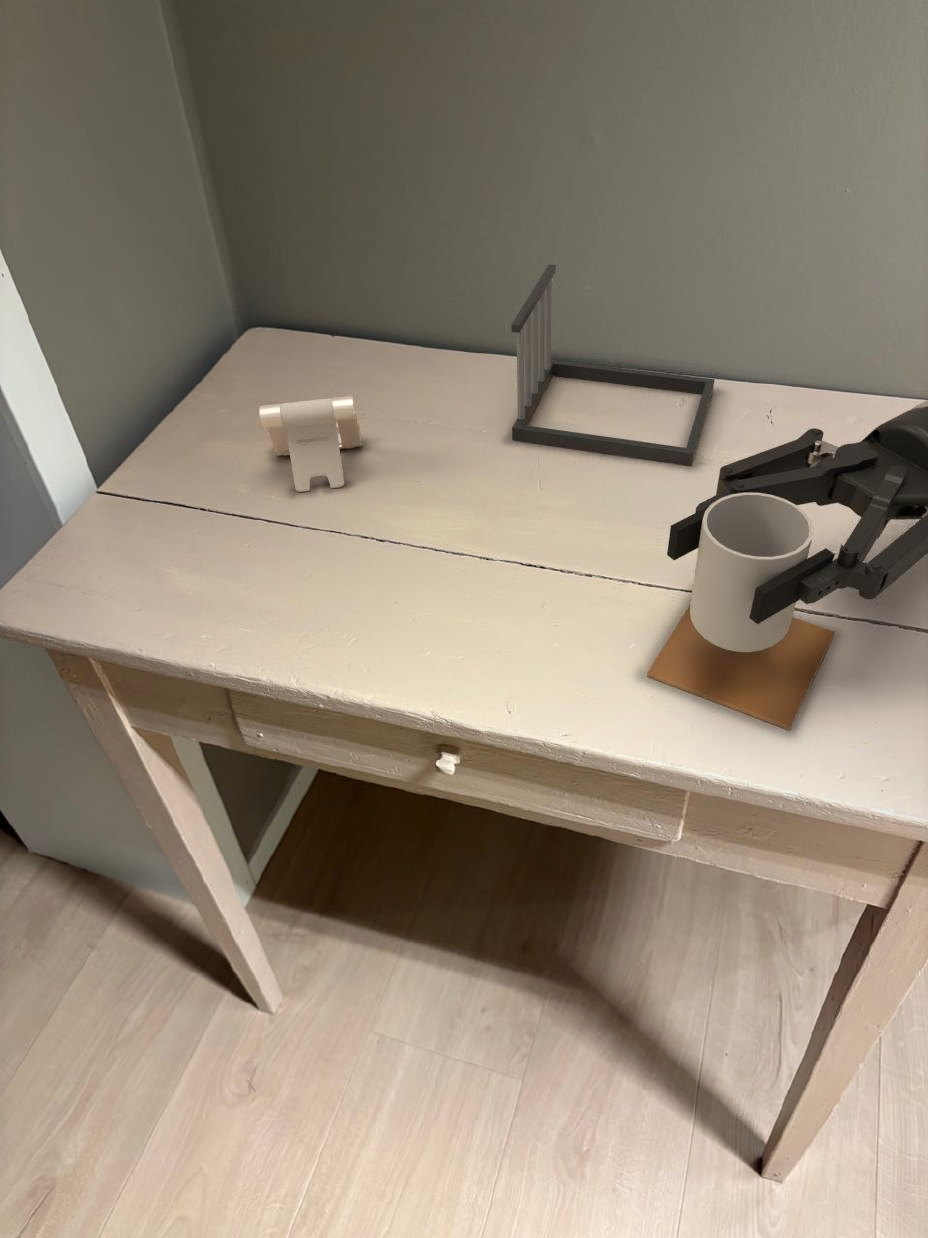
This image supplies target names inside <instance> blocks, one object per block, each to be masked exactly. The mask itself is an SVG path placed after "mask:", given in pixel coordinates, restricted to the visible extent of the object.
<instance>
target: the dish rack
mask: <svg viewBox="0 0 928 1238" xmlns="http://www.w3.org/2000/svg"><path fill="white" fill-rule="evenodd" d="M555 273H557V265H556V264H552V263H548V265H546V267H545V269H544V270H543V272H542V274H541V276H540V277H539V279H538V280H537V282H536V283H535V286H534V287H533V289H532V290H531V292H530V294H529V295H528V296H527V299H526V300H525V301H524V302H523V305H522V306H521V308H520V310H519V311H518V313H517V315H516V316H515V318H514V320H513V321H512V323H511V325H510V326H511V327H510V328H511V333H516V382H517V383H516V384H517V385H516V386H517V389H516V390H517V392H516V393H517V395H516V396H517V418H516V419H515V422H514V423H513V425H512V427H511V436H512V437H511V440H512V441H515V442H524V443H530V444H537V445H543V446H551V447H557V448H558V447H559V448H565V449H571V450H579V451H586V452H592V453H599V454H607V455H613V456H618V457H619V456H620V457H625V458H626V457H627V458H633V459H642V460H646V461H647V460H648V461H655V462H660V463H668V464H675V465H682V466H689V467H692V466H693V462H694V459H695V455H696V453H697V450H698V449H697V448H698V445H699V441H700V439H701V434H702V431H703V428H704V424H705V421H706V417H707V414H708V411H709V408H710V407H709V406H710V403H711V399H712V396H713V393H714V388H715V380H716V379H715V378H709V377H700V376H692V375H683V374H675V373H667V372H658V371H650V370H641V369H635V368H632V369H631V368H625V367H617V366H608V365H600V364H592V363H584V362H583V363H582V362H575V361H569V360H559V359H552V357H551V356H552V355H551V353H552V350H551V349H552V347H551V346H552V279H553V277H554V276H555ZM553 377H563V378H571V379H578V380H587V381H595V382H603V383H610V384H611V383H612V384H618V385H624V386H625V385H626V386H634V387H642V388H650V389H656V390H657V389H658V390H666V391H673V392H674V391H675V392H681V393H682V392H683V393H688V394H689V393H691V394H699V395H701V396H700V397H701V398H700V400H699V404H698V407H697V411H696V414H695V417H694V422H693V424H692V427H691V430H690V435H689V437H688V441H687V444H686V447H684V446H676V445H669V444H662V443H656V442H648V441H640V440H634V439H628V438H620V437H612V436H605V435H597V434H591V433H583V432H576V431H569V430H563V429H554V428H549V427H542V426H534V425H529V424H530V421H531V419H532V417H533V416H534V413H535V412H536V410H537V408H538V406H539V404H540V402H541V400H542V398H543V397H544V394H545V392H546V390H547V388H548V387H549V385H550V383H551V381H552V379H553Z"/></svg>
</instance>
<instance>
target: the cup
mask: <svg viewBox="0 0 928 1238" xmlns="http://www.w3.org/2000/svg"><path fill="white" fill-rule="evenodd" d="M814 531H815V529H814V525H813V522H812V520H811V518H810V517H809V515H808V514H807V513H806V512H805V511H804V510H803V509H802V508H801V507H799V505H795V504H793V503H791V502H789V501H787V500H786V499H783V498H780V497H777V496H774V495H769V494H763V493H738V494H732V495H729V496H726V497H723V498H720V499H719V500H717V501H715V502H714V503H712V504H711V505H710V506H709V507H708V509H707V510H706V511H705V514H704V517H703V521H702V528H701V534H700V541H699V548H697V555H696V563H695V570H694V574H693V575H694V576H693V583H692V590H691V596H690V597H691V598H690V603H689V605H690V615H691V620H692V622H693V624H694V626H695V628H696V630H697V631H698V632H699V633H700V634H701V635H702V636H703V637H704V638H705V639H706V640H708V641H709V642H711V643H712V644H714V645H716V646H718V647H721V648H723V649H726V650H731V651H736V652H755V651H761V650H764V649H766V648H769V647H771V646H773V645H775V644H776V643H778V642H779V641H780V640H781V639H783V638H784V636H785V635H786V633H787V632H788V630H789V627H790V624H791V621H792V617H793V618H794V612H795V608H796V605H797V602H795V603H793V604H791V605H790V606H788V607H786V608H785V609H783V610H781V611H780V612H778V613H776V614H774V615H773V616H771V617H769V618H768V619H766V620H764V621H763V622H761V623H759V624H756V623H755V622H754V621H753V620H751V619H750V618H749V617H750V612H751V608H752V603H753V599H754V594H755V589H756V588H757V587H759V586H760V585H762V584H764V583H766V582H767V581H769V580H771V579H773V578H774V577H776V576H778V575H780V574H781V573H783V572H785V571H787V570H788V569H790V568H792V567H794V566H796V565H797V564H799V563H801V562H803V561H804V560H806V559H808V558H809V553H810V549H811V545H812V541H813V537H814Z"/></svg>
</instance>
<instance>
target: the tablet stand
mask: <svg viewBox="0 0 928 1238" xmlns="http://www.w3.org/2000/svg"><path fill="white" fill-rule="evenodd" d="M258 409H259V410H258V412H259V413H258V414H259V420H260V424H261V428H262V430H267V432H268V435H269V438H270V442H271V444H272V447H273V449H274V453H275V455H276V456H289V457H290V463H291V471H292V477H293V483H294V489H295V490H296V492H300V493H302V492H310V491H311V478H314V477H323V476H325V477H326V478H327V480H328V483H329V486H330V489H338V488H342V487H344V485H345V477H344V470H343V463H342V455H341V450H340V449H355V448H358V447H363V442H362V434H361V428H360V427H361V426H360V422H359V421H358V416H357V411H356V406H355V400H354V396H353V395H347V396H338V397H331V398H330V397H329V398H320V399H309V400H301V401H293V402H284V403H283V402H282V403H274V404H265V405H259V406H258Z"/></svg>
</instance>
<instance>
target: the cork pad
mask: <svg viewBox="0 0 928 1238" xmlns="http://www.w3.org/2000/svg"><path fill="white" fill-rule="evenodd" d="M834 636H835V631H834V630H831V629H829V628H825V627H823V626H819V625H817V624H814V623H812V622H811V623H810V622H807V621H805V620H802V619H798V618H795V617H794V616H793V617H792V621H791V624H790V627H789V630H788V632H787V633H786V635H785V636H784V638H783V639H781V640H780V641H779V642H778V643H776V644H775V645H773V646H771V647H769V648H766V649H764V650H761V651H755V652H736V651H731V650H726V649H723V648H721V647H718V646H716V645H714V644H712V643H711V642H709V641H708V640H706V639H705V638H704V637H703V636H702V635H701V634H700V633H699V632H698V631H697V630H696V628H695V626H694V624H693V622H692V620H691V615H690V604H689V605H688V607H687V609H686V610H685V612H684V613H683V615H682V617H681V618H680V620H679V621H678V622H677V625H676V626H675V628H674V630H673V631H672V632H671V634H670V636H669V637H668V638H667V640H666V642H665V644H664V645H663V647H662V649H661V650H660V652H659V653H658V655H657V656H656V658H655V660H654V661H653V663H652V665H651V666H650V667H649V669H648V671H647V674H646V676H647V677H648V678H650V679H653V680H656V681H659V682H661V683H664V684H667V685H669V686H672V687H675V688H676V689H679V690H682V691H685V692H687V693H690V694H693V695H695V696H698V697H701V698H704V699H705V700H709V701H711V702H713V703H716V704H719V705H722V706H725V707H727V708H729V709H732V710H735V711H738V712H740V713H743V714H746V715H747V716H750V717H753V718H756V719H759V720H761V721H764V722H767V723H769V724H772V725H775V726H777V727H780V728H782V729H784V730H787V731H790V730H791V728H792V726H793V724H794V721H795V720H796V717H797V715H798V713H799V711H800V709H801V707H802V705H803V702H804V701H805V698H806V696H807V694H808V692H809V690H810V687H811V685H812V683H813V681H814V679H815V677H816V674H817V673H818V670H819V668H820V666H821V664H822V661H823V659H824V657H825V655H826V653H827V650H828V649H829V647H830V644H831V642H832V639H833V638H834Z"/></svg>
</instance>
